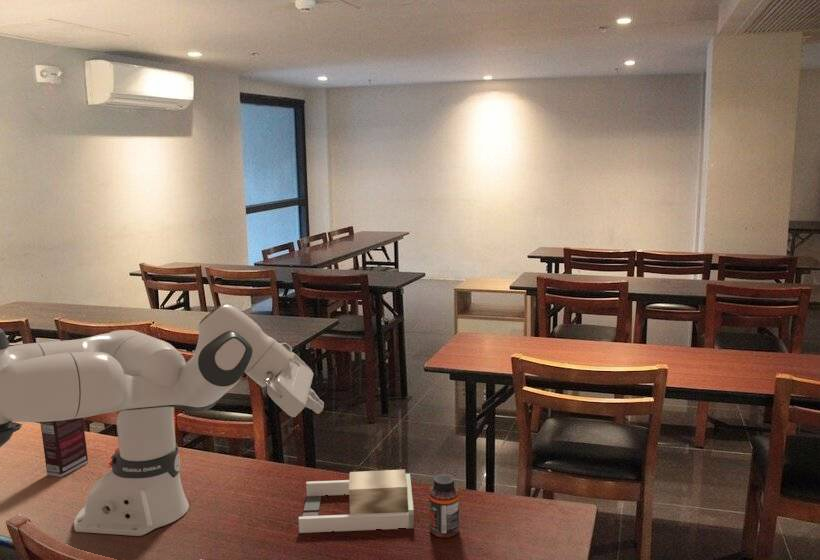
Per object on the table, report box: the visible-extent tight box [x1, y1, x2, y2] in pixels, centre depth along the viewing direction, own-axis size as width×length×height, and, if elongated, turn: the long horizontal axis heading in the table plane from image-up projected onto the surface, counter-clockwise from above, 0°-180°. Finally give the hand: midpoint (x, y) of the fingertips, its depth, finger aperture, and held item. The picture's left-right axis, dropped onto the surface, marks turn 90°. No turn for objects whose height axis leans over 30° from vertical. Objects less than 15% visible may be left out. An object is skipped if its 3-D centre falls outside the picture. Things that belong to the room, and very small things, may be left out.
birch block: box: [348, 469, 408, 514], centre depth 146 cm, size 12×8×7 cm, turn 94°
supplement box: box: [39, 417, 89, 478], centre depth 167 cm, size 9×5×16 cm, turn 159°
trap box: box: [298, 473, 415, 534], centre depth 146 cm, size 23×16×4 cm
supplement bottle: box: [428, 473, 460, 539], centre depth 136 cm, size 6×6×11 cm
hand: (321, 409), depth 142 cm, fingers closed
